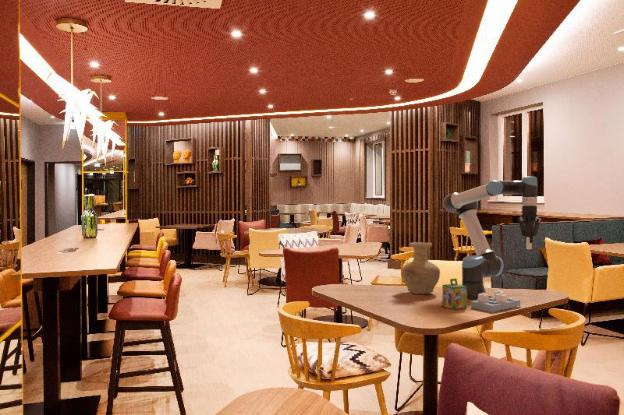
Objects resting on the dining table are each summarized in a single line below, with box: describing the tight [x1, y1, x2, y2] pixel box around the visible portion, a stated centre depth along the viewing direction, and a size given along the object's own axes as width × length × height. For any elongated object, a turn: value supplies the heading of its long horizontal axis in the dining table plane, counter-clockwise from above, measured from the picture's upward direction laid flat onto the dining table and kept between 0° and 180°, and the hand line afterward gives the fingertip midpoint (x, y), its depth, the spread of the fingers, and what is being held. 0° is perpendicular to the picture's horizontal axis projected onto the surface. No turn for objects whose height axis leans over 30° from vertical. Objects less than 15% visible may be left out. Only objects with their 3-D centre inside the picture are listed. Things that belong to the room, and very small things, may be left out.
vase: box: [401, 241, 441, 295], centre depth 315 cm, size 22×22×30 cm
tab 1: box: [477, 292, 490, 304], centre depth 274 cm, size 4×4×6 cm
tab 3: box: [496, 293, 508, 303], centre depth 273 cm, size 4×4×6 cm
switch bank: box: [470, 296, 521, 313], centre depth 276 cm, size 24×13×4 cm, turn 126°
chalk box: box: [441, 278, 468, 310], centre depth 276 cm, size 9×9×15 cm
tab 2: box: [493, 289, 506, 299], centre depth 282 cm, size 4×4×6 cm
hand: (529, 249), depth 286 cm, fingers closed
